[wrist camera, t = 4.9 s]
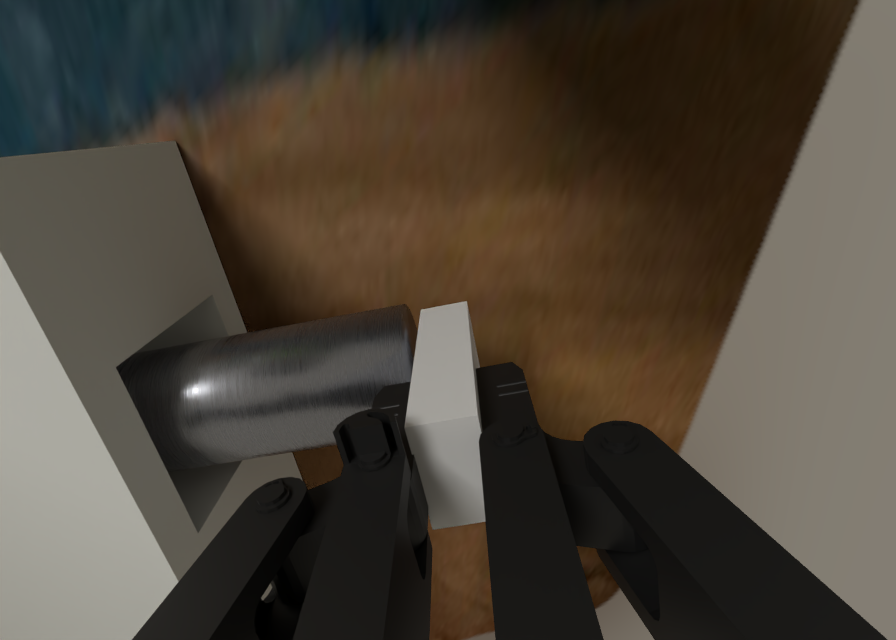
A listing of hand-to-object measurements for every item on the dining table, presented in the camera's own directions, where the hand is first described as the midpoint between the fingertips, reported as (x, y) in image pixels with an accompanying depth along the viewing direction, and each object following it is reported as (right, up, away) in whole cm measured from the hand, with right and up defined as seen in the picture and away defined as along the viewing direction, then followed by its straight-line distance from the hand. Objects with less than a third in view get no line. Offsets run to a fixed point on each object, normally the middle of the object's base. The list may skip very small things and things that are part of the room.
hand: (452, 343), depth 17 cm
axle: (-9, -1, +2) cm, 10 cm away
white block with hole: (-12, -1, +4) cm, 13 cm away
